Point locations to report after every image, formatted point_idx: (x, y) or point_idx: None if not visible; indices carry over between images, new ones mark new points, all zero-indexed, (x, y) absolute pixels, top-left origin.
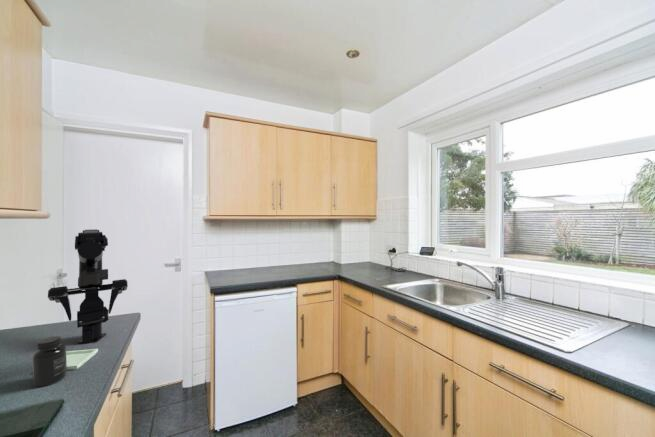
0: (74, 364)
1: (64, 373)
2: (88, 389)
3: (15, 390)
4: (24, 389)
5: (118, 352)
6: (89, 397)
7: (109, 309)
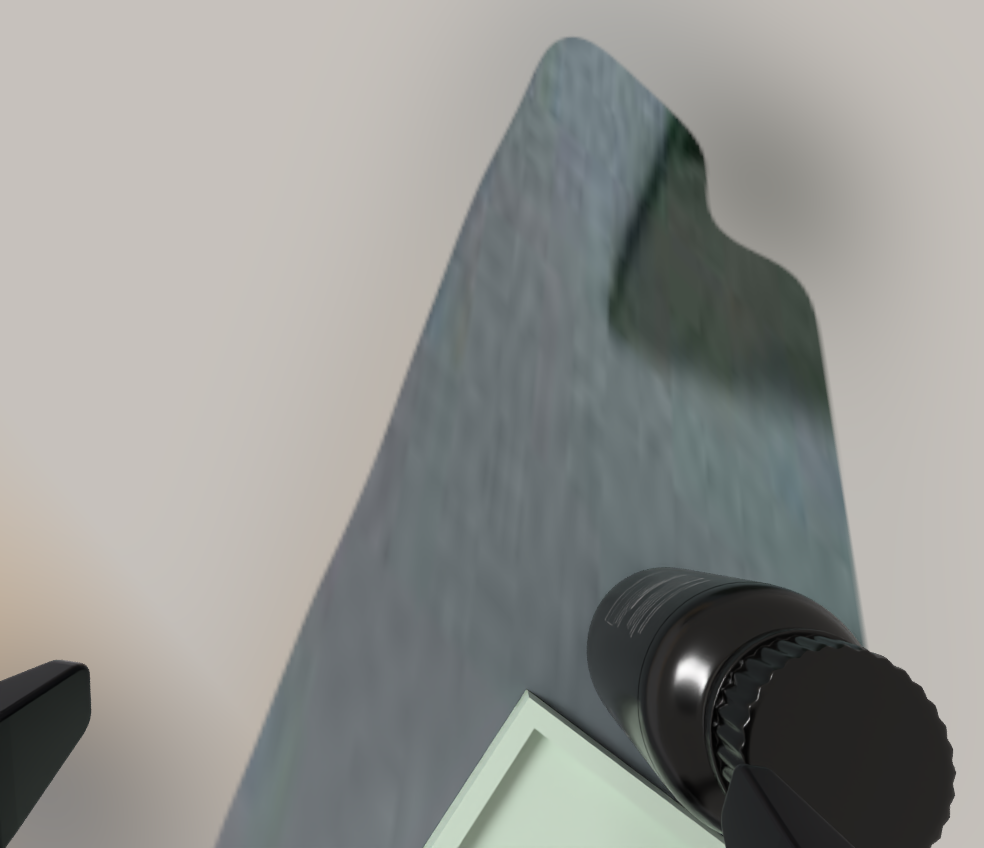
0: (535, 783)
1: (605, 603)
2: (503, 337)
3: None
4: None
5: (249, 777)
6: (509, 248)
7: (3, 701)
